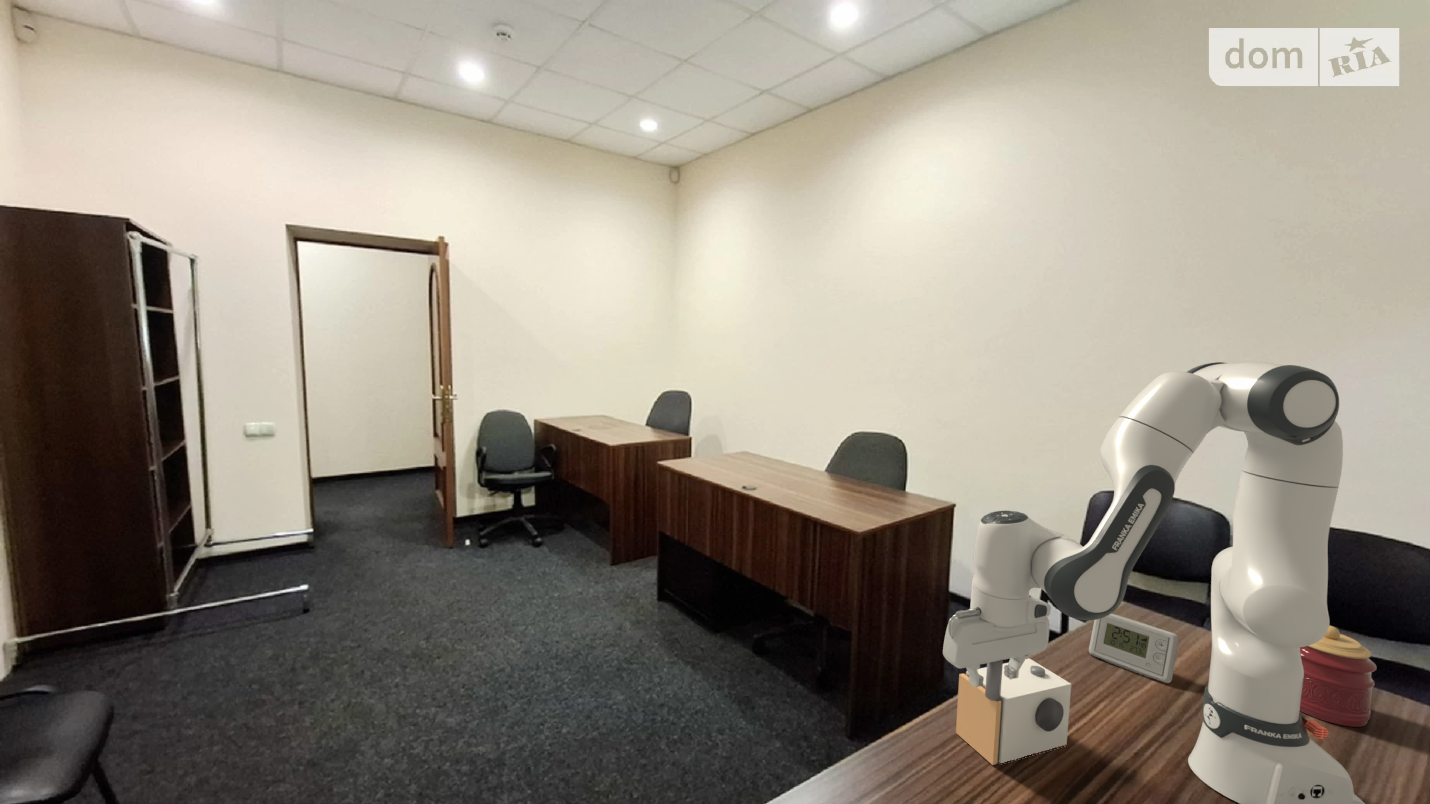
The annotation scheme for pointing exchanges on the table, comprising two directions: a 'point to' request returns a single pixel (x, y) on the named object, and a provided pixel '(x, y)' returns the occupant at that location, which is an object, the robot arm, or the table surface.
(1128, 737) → the table surface
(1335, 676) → the canister
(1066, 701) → the camera case
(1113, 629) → the digital clock
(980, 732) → the wooden flat board
